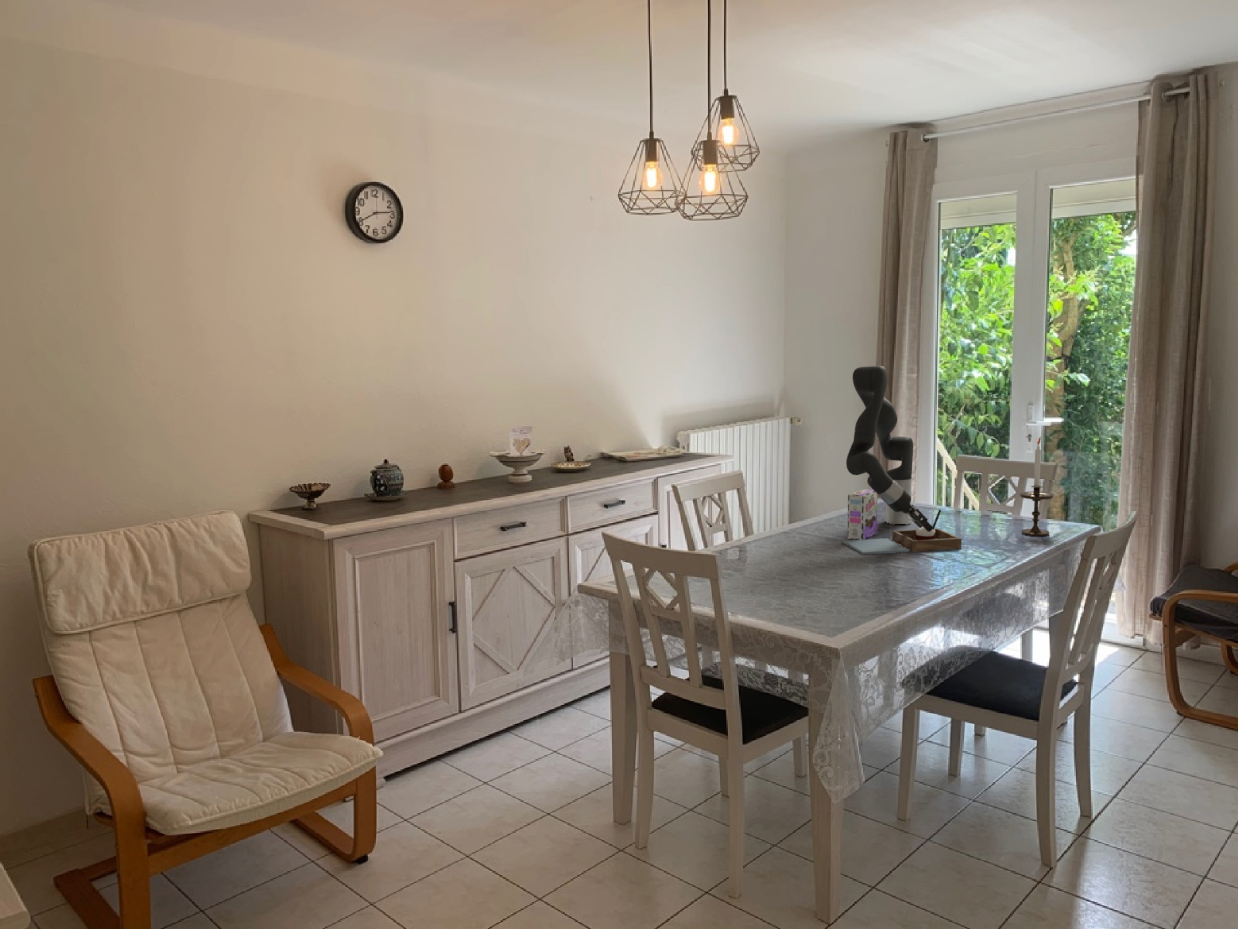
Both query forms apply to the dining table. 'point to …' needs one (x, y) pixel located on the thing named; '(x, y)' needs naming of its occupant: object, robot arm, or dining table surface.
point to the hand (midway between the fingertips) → (926, 527)
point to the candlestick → (1036, 497)
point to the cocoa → (923, 533)
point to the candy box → (862, 514)
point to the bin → (942, 541)
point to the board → (876, 546)
